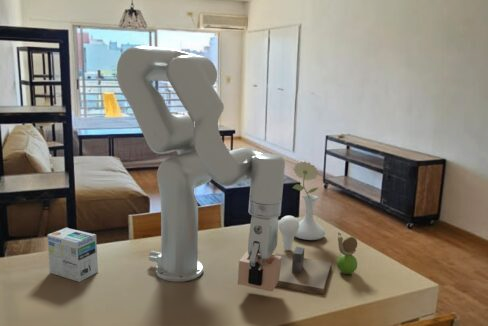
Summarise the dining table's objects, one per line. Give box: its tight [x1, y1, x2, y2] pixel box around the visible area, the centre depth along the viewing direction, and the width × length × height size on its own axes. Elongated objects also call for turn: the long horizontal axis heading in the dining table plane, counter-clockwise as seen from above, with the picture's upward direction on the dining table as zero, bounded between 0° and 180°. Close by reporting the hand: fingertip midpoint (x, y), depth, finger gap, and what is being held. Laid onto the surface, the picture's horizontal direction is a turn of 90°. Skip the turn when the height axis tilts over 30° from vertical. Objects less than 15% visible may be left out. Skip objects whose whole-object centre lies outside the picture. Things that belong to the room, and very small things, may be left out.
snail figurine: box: [336, 232, 358, 275], centre depth 118 cm, size 5×6×12 cm
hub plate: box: [274, 246, 332, 295], centre depth 117 cm, size 16×16×7 cm
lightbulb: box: [278, 215, 300, 251], centre depth 132 cm, size 6×6×11 cm
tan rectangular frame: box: [237, 249, 281, 293], centre depth 105 cm, size 7×9×6 cm
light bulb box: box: [47, 227, 99, 283], centre depth 113 cm, size 11×7×11 cm, turn 65°
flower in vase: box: [292, 161, 326, 241], centre depth 143 cm, size 13×11×25 cm
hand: (259, 276), depth 106 cm, fingers closed on tan rectangular frame, 6 cm apart
